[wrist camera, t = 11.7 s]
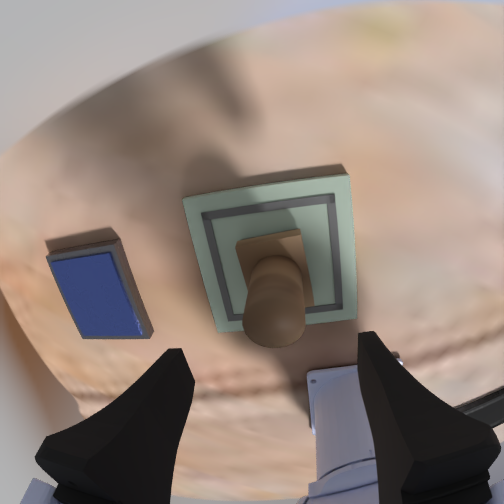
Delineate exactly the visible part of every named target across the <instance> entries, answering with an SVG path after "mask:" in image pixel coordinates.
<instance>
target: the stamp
mask: <svg viewBox="0 0 504 504" xmlns="http://www.w3.org/2000/svg"><path fill="white" fill-rule="evenodd" d="M235 249H236V253H237V256H238V260H239V263H240V266H241V270H242V273H243V277H244V280H245V283H246V287H247V290H248V294H247V299H246V304H245V309H244V314H243V319H242V326H243V329H244V332H245V333H246V335H247V336H248V337H249V338H250V339H251V340H252V341H253V342H255V343H257V344H259V345H261V346H264V347H269V348H280V347H285V346H288V345H290V344H292V343H294V342H295V341H297V340H298V339H299V338H300V337H301V336H302V334H303V332H304V330H305V326H306V320H305V308H306V307H311V306H315V304H314V297H313V291H312V286H311V281H310V275H309V270H308V265H307V260H306V255H305V250H304V245H303V240H302V235H301V230H300V229H298V228H297V229H292V230H287V231H282V232H277V233H272V234H267V235H262V236H257V237H252V238H247V239H242V240H240V241H237V243H236V246H235Z"/></svg>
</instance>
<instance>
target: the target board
mask: <svg viewBox="0 0 504 504" xmlns="http://www.w3.org/2000/svg"><path fill="white" fill-rule="evenodd" d="M182 202H183V206H184V210H185V214H186V218H187V222H188V226H189V230H190V234H191V237H192V241H193V245H194V249H195V253H196V256H197V260H198V264H199V267H200V271H201V275H202V278H203V282H204V286H205V289H206V293H207V296H208V300H209V303H210V307H211V310H212V314H213V317H214V320H215V324H216V327H217V330H218V333H220V332H234V331H244V329H243V326H242V319H243V314H244V309H245V304H246V299H247V294H248V290H247V287H246V283H245V280H244V277H243V273H242V270H241V266H240V263H239V260H238V256H237V253H236V249H235V246H236V243H237V241H240V240H242V239H247V238H252V237H257V236H262V235H267V234H272V233H277V232H282V231H287V230H292V229H297V228H298V229H300V230H301V235H302V240H303V245H304V250H305V255H306V260H307V265H308V270H309V275H310V281H311V286H312V291H313V297H314V304H315V306H311V307H306V308H305V320H306V325H309V324H318V323H326V322H334V321H342V320H349V319H356V318H357V282H356V255H355V237H354V221H353V208H352V196H351V186H350V176H349V174H348V173H345V174H337V175H328V176H320V177H311V178H304V179H296V180H289V181H281V182H274V183H267V184H261V185H254V186H248V187H241V188H235V189H229V190H223V191H217V192H211V193H205V194H200V195H194V196H189V197H185V198H183V199H182Z"/></svg>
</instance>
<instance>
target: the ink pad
mask: <svg viewBox="0 0 504 504" xmlns="http://www.w3.org/2000/svg"><path fill="white" fill-rule="evenodd" d="M46 259H47V262H48V264H49V267H50V269H51V272H52V274H53V276H54V279H55V281H56V283H57V286H58V288H59V290H60V293H61V295H62V297H63V299H64V302H65V304H66V306H67V308H68V310H69V312H70V314H71V317H72V319H73V321H74V323H75V325H76V327H77V329H78V331H79V333H80V335H81V337H82V338H83V339H150V338H151V336H152V334H153V332H154V330H153V327H152V325H151V322H150V320H149V317H148V315H147V312H146V310H145V307H144V305H143V302H142V299H141V297H140V294H139V291H138V289H137V286H136V283H135V281H134V278H133V275H132V272H131V269H130V267H129V264H128V261H127V258H126V255H125V252H124V249H123V246H122V243H121V240H120V239H116V240H111V241H105V242H99V243H94V244H88V245H83V246H77V247H72V248H67V249H62V250H56V251H52V252H51V253H50V254H48V255H47V256H46Z"/></svg>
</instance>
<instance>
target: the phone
mask: <svg viewBox="0 0 504 504" xmlns="http://www.w3.org/2000/svg"><path fill="white" fill-rule="evenodd" d="M456 410H458V411H460V412H462V413H464V414H466V415H467V416H469V417H471V418H474V419H476V420H478V421H481V422H483V423H486V424H488V425H490V426H491V427H492V428H494V427H496V426H498V425H500V424H502V423H504V388H503V389H501V390H499V391H497V392H495V393H493V394H490V395H488V396H486V397H484V398H482V399H479V400H477V401H475V402H472V403H470V404H468V405H465V406H463V407H460V408H458V409H456Z"/></svg>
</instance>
